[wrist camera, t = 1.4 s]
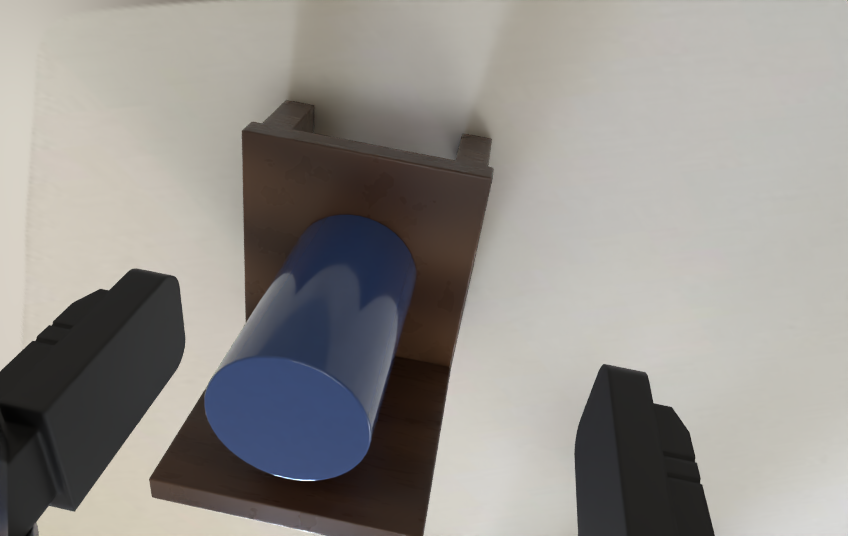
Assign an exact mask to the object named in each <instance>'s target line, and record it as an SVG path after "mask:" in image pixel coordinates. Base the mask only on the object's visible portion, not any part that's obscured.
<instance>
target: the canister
mask: <svg viewBox="0 0 848 536" xmlns="http://www.w3.org/2000/svg"><path fill="white" fill-rule="evenodd" d="M415 284H416V268H415V263H414V260H413V258H412V255H411V253H410V251H409V249H408V248H407V246H406V245H405V243H404V242H403V241H402V240H401V239H400V238H399V237H398V235H396V234H395V233H394V232H393V231H392V230H390V229H389V228H387V227H386V226H384V225H383V224H381V223H379V222H377V221H375V220H372V219H369V218H366V217H362V216H357V215H334V216H330V217H326V218H324V219H321V220H319V221H317V222H315V223H313V224H312V225H311V226H309V227H308V228H307V229H306V230H305V231H304V232H303V233H302V235H301V236H300V238H299V239H298V241H297V242H296V244H295V245H294V247H293V249H292V250H291V252H290V253H289V255H288V257H287V258H286V260H285V261H284V263H283V265H282V266H281V268H280V269H279V271H278V273H277V274H276V276H275V277H274V279H273V281H272V282H271V284H270V285H269V287H268V289H267V290H266V292H265V293H264V295H263V297H262V298H261V300H260V301H259V303H258V304H257V306H256V308H255V309H254V311H253V312H252V314H251V316H250V317H249V319H248V320H247V322H246V324H245V325H244V327H243V328H242V330H241V332H240V333H239V335H238V336H237V338H236V340H235V341H234V343H233V344H232V346H231V348H230V349H229V351H228V352H227V354H226V356H225V357H224V359H223V360H222V362H221V363H220V365H219V367H218V368H217V370H216V371H215V373H214V375H213V376H212V378H211V379H210V381H209V383H208V385H207V388H206V392H205V397H204V406H205V413H206V416H207V419H208V422H209V424H210V426H211V428H212V430H213V431H214V433H215V434H216V436H217V437H218V438H219V440H220V441H221V442H222V443H223V444H224V445H225V446H226V447H227V448H228V449H229V450H230V451H231V452H232V453H234V454H235V455H236V456H237V457H239V458H240V459H242V460H243V461H245V462H246V463H248V464H250V465H252V466H254V467H255V468H258V469H260V470H262V471H264V472H267V473H270V474H273V475H276V476H280V477H283V478H288V479H294V480H304V481H315V480H325V479H329V478H334V477H337V476H340V475H342V474H344V473H346V472H348V471H350V470H351V469H353V468H354V467H356V466H357V465H358V464H359V463H360V462H361V461H362V460H363V458H364V457H365V455H366V454H367V452H368V450H369V448H370V444H371V441H372V437H373V434H374V430H375V427H376V423H377V419H378V416H379V412H380V409H381V405H382V402H383V398H384V395H385V391H386V388H387V384H388V380H389V377H390V373H391V370H392V366H393V363H394V359H395V356H396V352H397V348H398V345H399V341H400V338H401V334H402V331H403V327H404V324H405V320H406V317H407V313H408V309H409V306H410V302H411V299H412V295H413V292H414V288H415Z"/></svg>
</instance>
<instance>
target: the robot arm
mask: <svg viewBox="0 0 848 536" xmlns="http://www.w3.org/2000/svg"><path fill="white" fill-rule="evenodd" d="M184 348H185V331H184V322H183V313H182V304H181V295H180V287H179V282H178V280H177V278H176V277H174V276H171V275H166V274H161V273H156V272H152V271H147V270H142V269H132V270H130V271H129V272H127V273H126V274H125V275H124V276H123V277H122V278H121V279H120V280H119V281H118V282H117V283H116V284H115V285H114V286H113V287H112V288H111V289H110V290H109V291H108V290H103V289H99V290H97V291H95V292H93V293H91V294H89V295H87V296H85V297H83V298H81V299H79V300H78V301H76V302H74V303H72V304H71V305H70V306H69V307H68V308H67V309H66V310H65V311H64V312H63V313H62V314H60V315H59V316H58V317H57V318H56V319H55V320H54V321H53V325H52V326H50V325H49V326H48V327H47V328H46V329H45V330H44V331H42V332H41V333H40V334H39V335H38V336H37V339H36V341H32V342H31V343H30V344H29V345H28V346H27V347H26V348H24V349H23V350H22V351H21V352H20V353H19V354H18V355H17V356H16V357H15V358H14V359H13V360H12V361H11V362H10V363H9V364H8V365H7V366H5V367H4V368H3V369H2V370H1V371H0V536H39V532H38V526H37V523H36V521H37V520H38V519H39V518H40V516H41V515H42V514H43V512H44V511H45V510H46V508H47V507H48V506H53V507H57V508H61V509H66V510H70V511H74V512H75V510H76V509H77V507H78V506H79V505H80V503H81V502H82V501H83V499H84V498H85V496H86V495H87V494H88V492H89V491H90V489H91V488H92V487H93V485H94V484H95V482H96V481H97V480H98V478H99V477H100V475H101V474H102V473H103V471H104V470H105V469H106V467H107V466H108V464H109V463H110V462H111V460H112V459H113V457H114V456H115V455H116V453H117V452H118V450H119V449H120V448H121V446H122V445H123V444H124V442H125V441H126V439H127V438H128V437H129V435H130V434H131V432H132V431H133V430H134V428H135V427H136V425H137V424H138V423H139V421H140V420H141V418H142V417H143V416H144V414H145V413H146V412H147V410H148V409H149V407H150V406H151V405H152V403H153V402H154V400H155V399H156V398H157V396H158V395H159V393H160V392H161V391H162V389H163V388H164V386H165V385H166V384H167V382H168V381H169V380H170V378H171V377H172V375H173V374H174V373H175V371H176V370H177V368H178V366H179V364H180V362H181V359H182V356H183V353H184ZM575 476H576V498H577V519H578V536H715V535H714V531H713V527H712V523H711V519H710V514H709V510H708V506H707V502H706V498H705V494H704V490H703V486H702V484H700V479H701V478H700V474H699V470H698V466H697V463H695V454H694V450H693V446H692V442H691V437H690V433H689V431H688V430H687V428H686V427H685V425H684V424H683V423H682V421H681V420H680V418H679V417H678V415H677V414H676V413H675V411H674V410H673V408H672V407H668V406H664V405H659V404H654V403H653V399H652V394H651V389H650V383H649V379H648V376H647V374H646V373H645V372H641V371H636V370H631V369H626V368H621V367H616V366H611V365H606V364H603V365H602V366H601V368H600V370H599V372H598V375H597V377H596V380H595V382H594V385H593V388H592V390H591V393H590V396H589V398H588V401H587V404H586V406H585V409H584V412H583V414H582V417H581V419H580V422H579V426H578V430H577V435H576V441H575Z"/></svg>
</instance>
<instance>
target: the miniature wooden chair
mask: <svg viewBox="0 0 848 536" xmlns="http://www.w3.org/2000/svg"><path fill="white" fill-rule="evenodd" d="M313 128H314V105H310V104H304V103H299V102H294V101H289V100H286V101H285V102H284V103H283V104H282V105H281V106H280V107H279V108H278V109H277V110H275V111H274V112H273V113H272V114H271V115H270V116H269V117H268V118H267V119H266V120H265V121H264V122H263V123H257V122H251V123H250V124H249V125H248V126H246V127H245V128H244V129H243V130H242V158H243V208H244V259H245V309H246V322H247V320H248V319H249V317H250V316H251V314H252V312H253V311H254V309H255V308H256V306H257V304H258V303H259V301H260V300H261V298H262V297H263V295H264V293H265V292H266V290H267V289H268V287H269V285H270V284H271V282H272V281H273V279H274V277H275V276H276V274H277V273H278V271H279V269H280V268H281V266H282V265H283V263H284V261H285V260H286V258H287V257H288V255H289V253H290V252H291V250H292V249H293V247H294V245H295V244H296V242H297V241H298V239H299V238H300V236H301V235H302V233H303V232H304V231H305V230H306V229H307V228H308V227H309V226H311V225H312V224H313V223H315V222H317V221H319V220H321V219H324V218H326V217H330V216H334V215H357V216H362V217H366V218H369V219H372V220H375V221H377V222H379V223H381V224H383V225H384V226H386V227H387V228H389V229H390V230H392V231H393V232H394V233H395V234H396V235H398V237H399V238H400V239H401V240H402V241H403V242H404V243H405V245H406V246H407V248H408V249H409V251H410V253H411V255H412V258H413V260H414V263H415V268H416V284H415V288H414V292H413V295H412V299H411V302H410V306H409V309H408V313H407V317H406V320H405V324H404V327H403V331H402V334H401V338H400V341H399V345H398V348H397V352H396V356H395V359H394V363H393V366H392V370H391V373H390V377H389V380H388V384H387V388H386V391H385V395H384V398H383V402H382V405H381V409H380V412H379V416H378V419H377V423H376V427H375V430H374V434H373V437H372V441H371V444H370V448H369V450H368V452H367V454H366V455H365V457H364V458H363V460H362V461H361V462H360V463H359V464H358V465H357V466H356V467H354V468H353V469H351V470H350V471H348V472H346V473H344V474H342V475H340V476H337V477H334V478H329V479H325V480H315V481H304V480H294V479H288V478H283V477H280V476H276V475H273V474H270V473H267V472H264V471H262V470H260V469H258V468H255V467H254V466H252V465H250V464H248V463H246V462H245V461H243V460H242V459H240V458H239V457H237V456H236V455H235V454H234V453H232V452H231V451H230V450H229V449H228V448H227V447H226V446H225V445H224V444H223V443H222V442H221V441H220V440H219V438H218V437H217V436H216V434H215V433H214V431H213V430H212V428H211V426H210V424H209V422H208V419H207V416H206V413H205V406H204V397H205V392H206V389H205V390H204V392H203V394H202V395H201V397H200V398H199V400H198V402H197V403H196V405H195V406H194V408H193V410H192V411H191V413H190V414H189V416H188V418H187V419H186V421H185V422H184V424H183V426H182V427H181V429H180V430H179V432H178V434H177V435H176V437H175V438H174V440H173V442H172V443H171V445H170V446H169V448H168V450H167V451H166V453H165V454H164V456H163V458H162V459H161V461H160V462H159V464H158V466H157V467H156V469H155V470H154V472H153V474H152V475H151V477H150V479H149V481H150V487H151V494H152V497H153V498H157V499H162V500H167V501H171V502H176V503H180V504H185V505H189V506H194V507H198V508H203V509H207V510H212V511H216V512H221V513H225V514H230V515H235V516H239V517H244V518H248V519H253V520H257V521H262V522H266V523H271V524H275V525H280V526H284V527H289V528H293V529H298V530H303V531H307V532H312V533H316V534H321V535H325V536H423V534H424V528H425V522H426V516H427V510H428V504H429V498H430V492H431V486H432V480H433V474H434V468H435V462H436V456H437V450H438V443H439V437H440V431H441V425H442V419H443V413H444V407H445V401H446V395H447V389H448V383H449V377H450V371H451V365H452V361H453V356H454V352H455V347H456V343H457V338H458V333H459V329H460V324H461V320H462V315H463V311H464V306H465V302H466V297H467V292H468V288H469V283H470V279H471V274H472V270H473V265H474V261H475V256H476V251H477V247H478V242H479V238H480V233H481V229H482V224H483V220H484V215H485V210H486V206H487V201H488V197H489V192H490V188H491V183H492V178H493V168H492V167H488V163H489V157H490V150H491V144H492V139H490V138H485V137H480V136H474V135H469V134H462V137H461V141H460V145H459V148H458V152H457V156H456V160H450V159H445V158H440V157H435V156H429V155H424V154H419V153H414V152H408V151H403V150H398V149H393V148H388V147H382V146H377V145H372V144H367V143H361V142H356V141H351V140H346V139H340V138H335V137H330V136H325V135H319V134H314V133H313ZM206 388H207V387H206Z"/></svg>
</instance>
